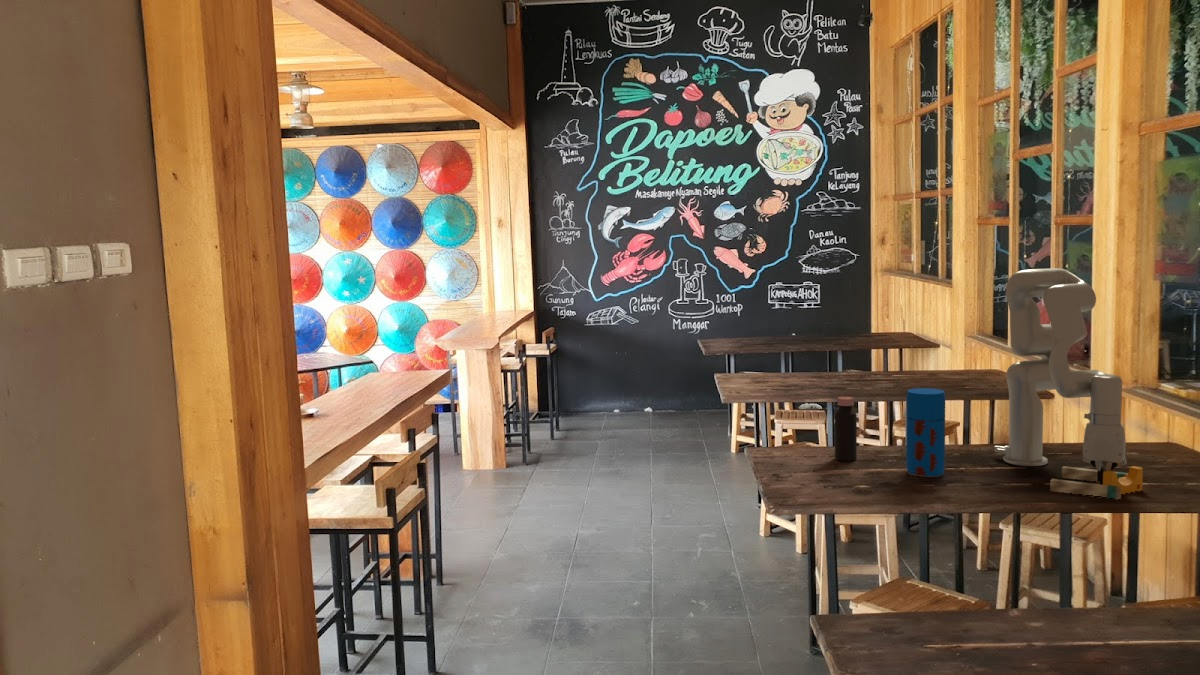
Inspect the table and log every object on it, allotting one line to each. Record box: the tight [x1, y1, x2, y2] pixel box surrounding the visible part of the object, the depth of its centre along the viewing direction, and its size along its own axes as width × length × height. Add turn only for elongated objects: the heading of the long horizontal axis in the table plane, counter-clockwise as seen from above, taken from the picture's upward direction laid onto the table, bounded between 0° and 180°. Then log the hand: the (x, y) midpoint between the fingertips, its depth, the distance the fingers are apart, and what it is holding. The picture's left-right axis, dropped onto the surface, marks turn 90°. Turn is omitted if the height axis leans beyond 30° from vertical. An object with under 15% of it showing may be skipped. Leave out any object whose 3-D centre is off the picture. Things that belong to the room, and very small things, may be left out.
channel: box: [1049, 465, 1129, 500], centre depth 263 cm, size 17×18×3 cm
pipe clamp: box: [1103, 465, 1144, 495], centre depth 258 cm, size 12×4×6 cm, turn 113°
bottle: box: [834, 396, 858, 462], centre depth 302 cm, size 7×7×20 cm
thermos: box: [906, 387, 946, 476], centre depth 282 cm, size 11×11×25 cm
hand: (1103, 484), depth 261 cm, fingers closed
